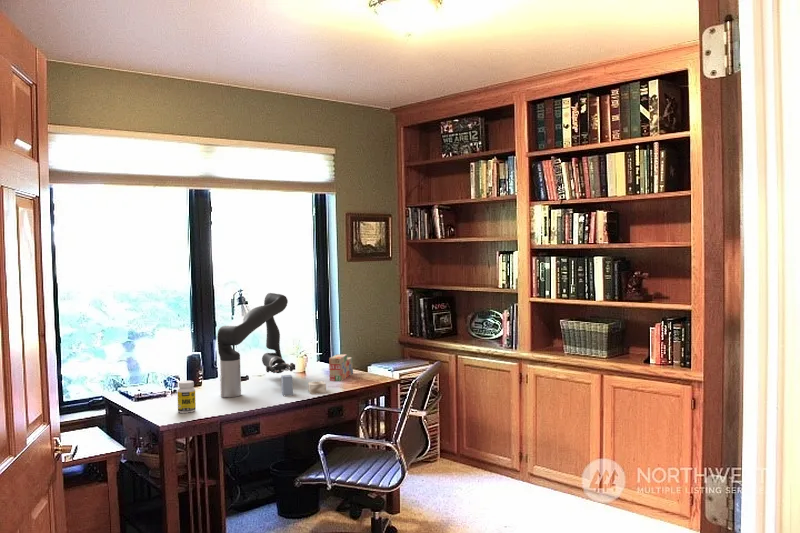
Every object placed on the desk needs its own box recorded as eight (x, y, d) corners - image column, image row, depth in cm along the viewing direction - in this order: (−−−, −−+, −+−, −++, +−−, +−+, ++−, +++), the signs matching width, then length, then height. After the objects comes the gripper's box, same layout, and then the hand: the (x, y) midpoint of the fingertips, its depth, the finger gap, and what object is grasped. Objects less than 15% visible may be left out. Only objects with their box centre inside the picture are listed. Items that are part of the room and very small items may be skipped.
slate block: (283, 396, 307) (282, 377, 307) (281, 394, 311) (281, 375, 311) (292, 395, 309) (292, 376, 308) (291, 393, 313) (290, 374, 313)
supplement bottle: (181, 414, 276) (180, 384, 276) (175, 411, 282) (174, 381, 281) (198, 411, 280) (197, 381, 280) (192, 408, 286) (191, 379, 286)
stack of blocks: (342, 373, 362) (341, 351, 362) (353, 373, 360) (352, 351, 360) (329, 381, 341) (328, 357, 341) (340, 381, 340) (340, 358, 339)
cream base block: (310, 394, 310) (310, 385, 310) (308, 391, 318) (308, 382, 318) (326, 393, 312) (325, 383, 312) (323, 390, 320) (323, 381, 320)
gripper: (263, 358, 333) (268, 363, 318) (290, 356, 338) (297, 361, 323) (263, 373, 334) (268, 379, 318) (291, 370, 339) (297, 376, 323)
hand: (282, 370), depth 321 cm, fingers open, 8 cm apart
